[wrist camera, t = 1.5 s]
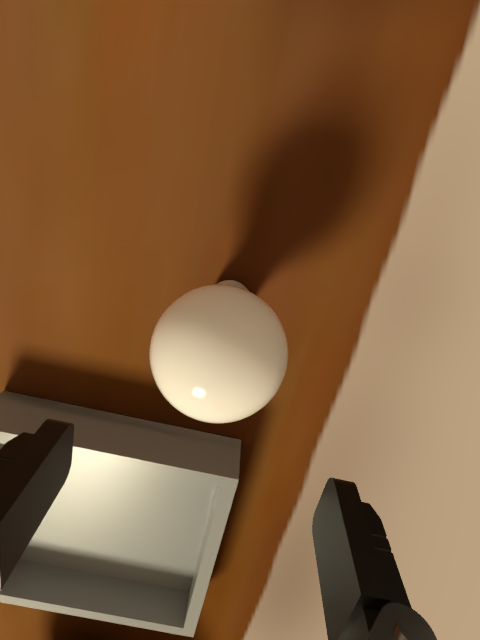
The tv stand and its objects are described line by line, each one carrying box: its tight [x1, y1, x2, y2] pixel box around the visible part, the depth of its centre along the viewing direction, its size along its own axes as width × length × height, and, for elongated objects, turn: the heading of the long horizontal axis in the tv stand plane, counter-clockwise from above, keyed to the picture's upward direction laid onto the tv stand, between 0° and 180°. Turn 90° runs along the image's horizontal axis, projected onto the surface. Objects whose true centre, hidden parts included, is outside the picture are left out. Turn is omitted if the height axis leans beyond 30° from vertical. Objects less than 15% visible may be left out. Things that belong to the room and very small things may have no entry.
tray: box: [0, 391, 241, 637], centre depth 31 cm, size 18×18×4 cm
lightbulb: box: [150, 280, 288, 423], centre depth 21 cm, size 6×6×11 cm
